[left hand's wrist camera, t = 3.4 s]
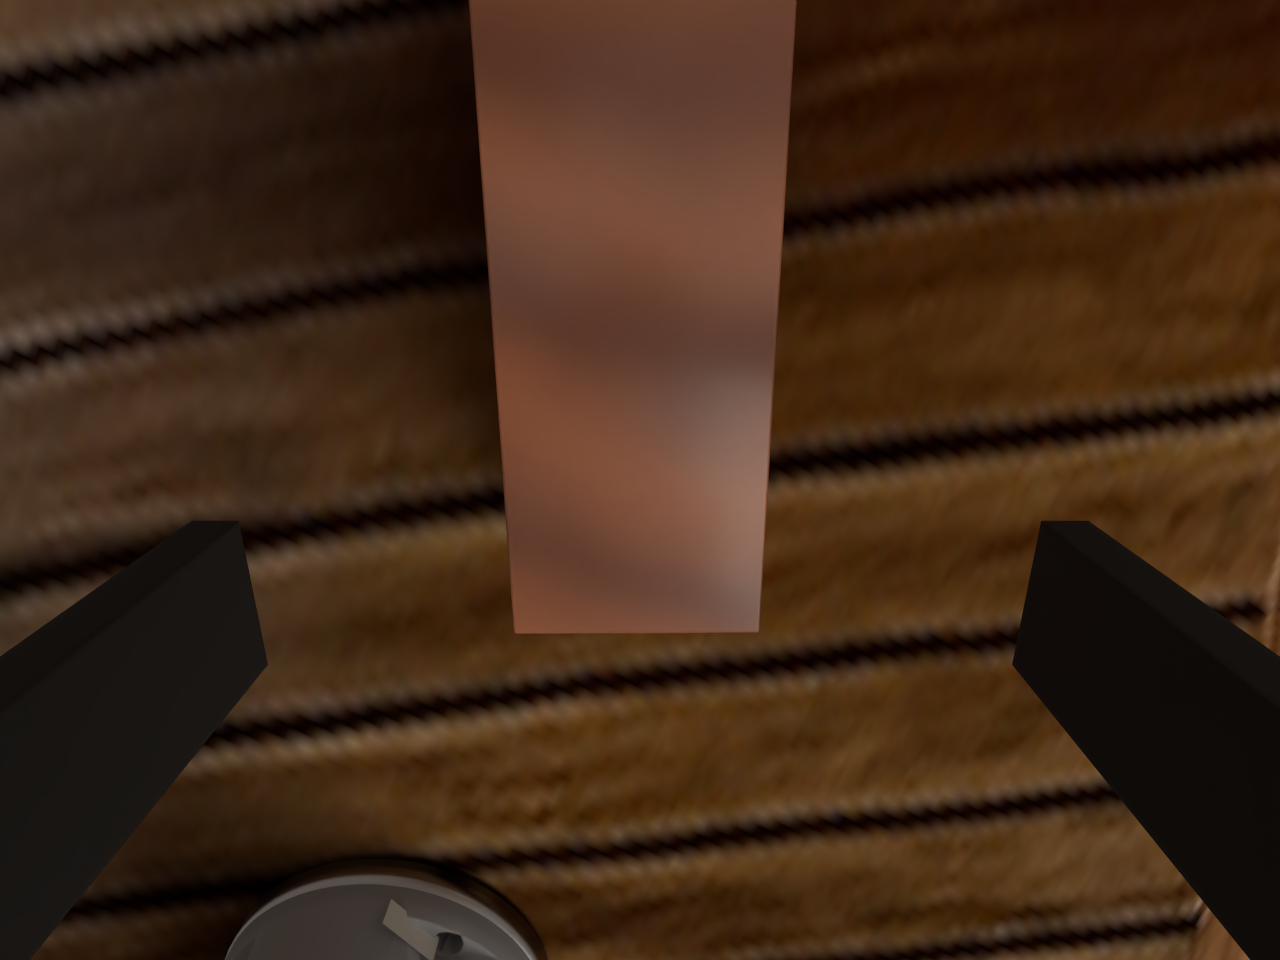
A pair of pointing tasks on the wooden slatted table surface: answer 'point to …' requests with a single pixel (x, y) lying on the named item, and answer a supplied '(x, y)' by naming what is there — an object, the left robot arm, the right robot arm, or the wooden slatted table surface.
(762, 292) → the cabinet
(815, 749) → the wooden slatted table surface
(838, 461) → the wooden slatted table surface
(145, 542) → the wooden slatted table surface
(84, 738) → the left robot arm
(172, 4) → the wooden slatted table surface
